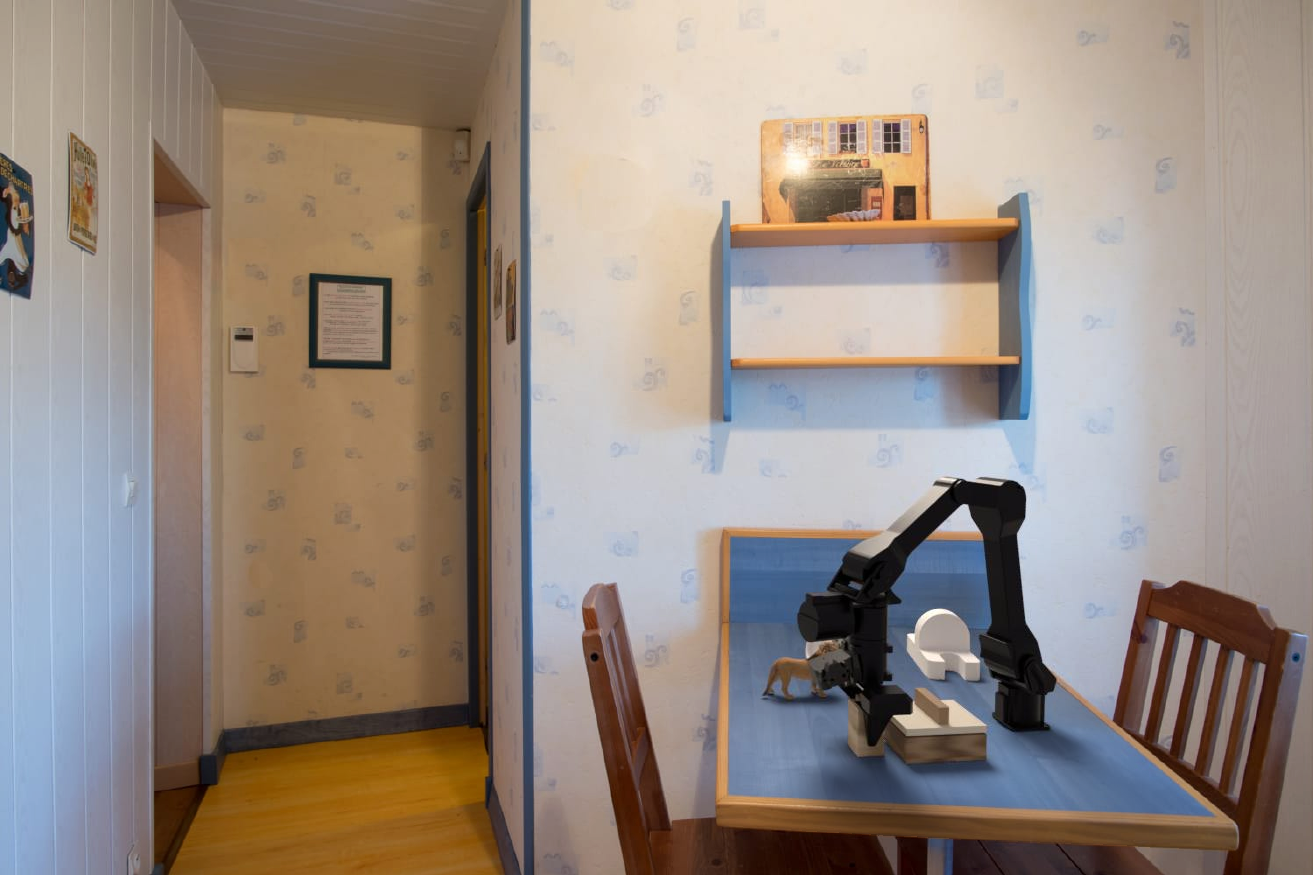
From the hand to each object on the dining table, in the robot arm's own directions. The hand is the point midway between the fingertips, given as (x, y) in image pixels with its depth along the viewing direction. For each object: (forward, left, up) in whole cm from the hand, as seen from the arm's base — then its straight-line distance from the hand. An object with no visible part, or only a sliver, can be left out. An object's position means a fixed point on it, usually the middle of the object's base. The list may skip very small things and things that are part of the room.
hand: (865, 739), depth 117 cm
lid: (-10, 0, +3) cm, 10 cm away
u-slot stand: (-29, -36, -2) cm, 47 cm away
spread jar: (-9, -38, -2) cm, 39 cm away
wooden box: (-10, 0, -2) cm, 10 cm away
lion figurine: (+2, -23, -2) cm, 23 cm away
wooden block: (0, 0, -2) cm, 2 cm away
